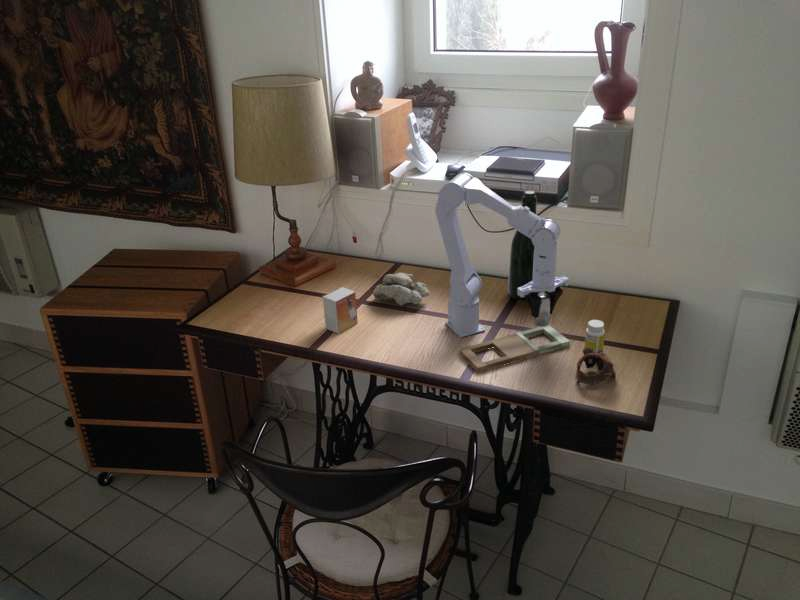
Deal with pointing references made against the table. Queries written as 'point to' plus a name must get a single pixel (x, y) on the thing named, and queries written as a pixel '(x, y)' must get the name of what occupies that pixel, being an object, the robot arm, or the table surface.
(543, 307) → the peg
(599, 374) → the pottery mug
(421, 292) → the mineral
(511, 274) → the dark green wine bottle
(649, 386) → the table surface
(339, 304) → the small box
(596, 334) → the supplement bottle
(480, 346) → the board with square holes
